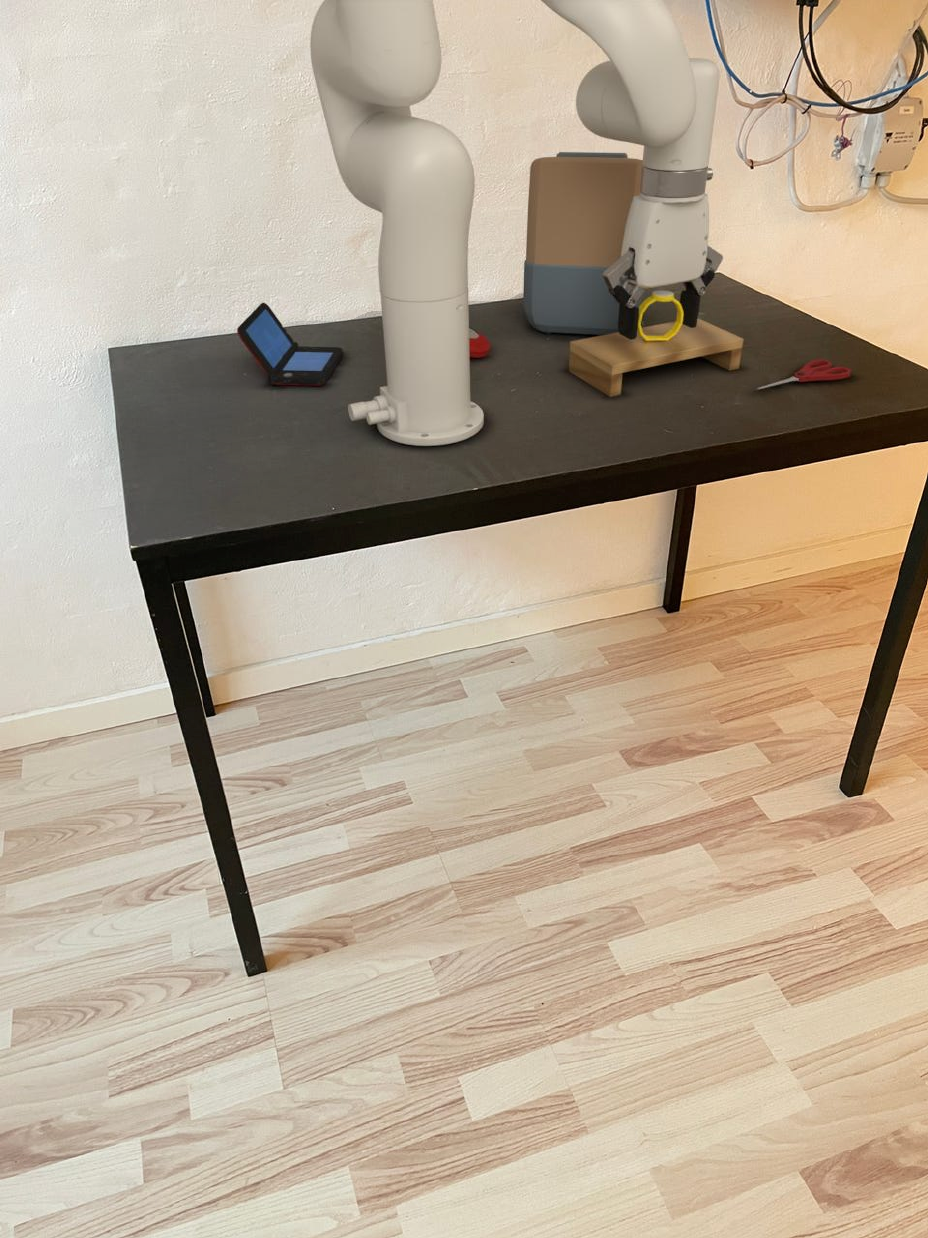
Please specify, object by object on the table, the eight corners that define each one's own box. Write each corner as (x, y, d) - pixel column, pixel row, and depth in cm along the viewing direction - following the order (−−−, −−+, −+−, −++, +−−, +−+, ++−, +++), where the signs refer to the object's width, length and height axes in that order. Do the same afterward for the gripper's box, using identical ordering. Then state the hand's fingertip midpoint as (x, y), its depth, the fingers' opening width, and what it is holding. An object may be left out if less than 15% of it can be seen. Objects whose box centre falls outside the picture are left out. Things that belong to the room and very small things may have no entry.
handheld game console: (324, 388, 115) (318, 331, 111) (243, 386, 116) (233, 329, 112) (345, 354, 125) (340, 300, 121) (271, 352, 126) (262, 299, 122)
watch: (637, 345, 114) (642, 297, 110) (630, 338, 116) (635, 291, 112) (682, 341, 114) (688, 294, 111) (674, 334, 117) (680, 287, 113)
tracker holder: (506, 345, 123) (446, 343, 117) (496, 374, 126) (437, 373, 120) (462, 303, 130) (404, 299, 124) (453, 331, 132) (396, 328, 127)
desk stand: (609, 397, 111) (612, 365, 108) (568, 371, 118) (570, 341, 116) (738, 368, 117) (743, 338, 115) (692, 345, 125) (695, 317, 122)
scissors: (853, 377, 114) (855, 369, 113) (772, 400, 108) (774, 392, 108) (820, 364, 117) (822, 356, 117) (741, 385, 112) (742, 377, 112)
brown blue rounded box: (643, 308, 139) (659, 140, 125) (634, 344, 126) (651, 161, 112) (537, 303, 142) (541, 139, 128) (518, 337, 129) (520, 159, 115)
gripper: (713, 170, 110) (694, 312, 120) (592, 185, 104) (583, 332, 114) (753, 180, 104) (730, 328, 115) (628, 196, 99) (616, 350, 109)
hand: (657, 330), depth 114 cm, fingers open, 8 cm apart
